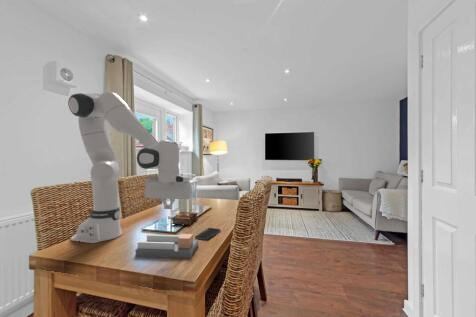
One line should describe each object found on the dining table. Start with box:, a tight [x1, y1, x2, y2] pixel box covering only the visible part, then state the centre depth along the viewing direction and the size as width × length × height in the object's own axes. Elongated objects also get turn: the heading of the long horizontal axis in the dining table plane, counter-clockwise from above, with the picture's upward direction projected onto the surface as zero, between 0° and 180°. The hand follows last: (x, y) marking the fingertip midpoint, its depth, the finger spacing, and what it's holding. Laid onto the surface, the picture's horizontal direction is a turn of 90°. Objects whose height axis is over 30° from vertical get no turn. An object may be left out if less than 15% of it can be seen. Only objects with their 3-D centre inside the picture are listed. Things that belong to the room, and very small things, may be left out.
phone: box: [194, 227, 221, 242], centre depth 111 cm, size 8×1×15 cm
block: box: [178, 233, 194, 248], centre depth 91 cm, size 5×5×4 cm
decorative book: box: [171, 211, 198, 226], centre depth 132 cm, size 11×16×5 cm
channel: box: [135, 234, 199, 259], centre depth 92 cm, size 23×12×5 cm, turn 86°
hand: (168, 208), depth 92 cm, fingers closed
